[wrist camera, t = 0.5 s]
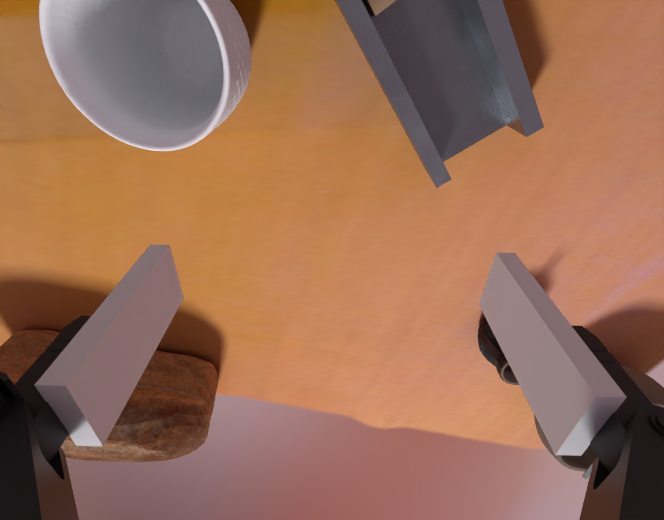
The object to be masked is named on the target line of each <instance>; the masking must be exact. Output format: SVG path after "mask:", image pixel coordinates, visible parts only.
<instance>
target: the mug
mask: <svg viewBox="0 0 664 520" xmlns="http://www.w3.org/2000/svg"><path fill="white" fill-rule="evenodd" d="M39 20H40V30H41V36H42V41H43V45H44V49H45V52H46V55H47V58H48V61H49V63H50V66H51V68H52V70H53V72H54V74H55V77H56V79H57V80H58V82H59V84H60V85H61V87H62V89H63V90H64V92H65V93H66V95H67V96H68V97H69V99H70V100H71V101H72V102H73V104H74V105H75V106H76V107H77V108H78V109H79V110H80V111H81V113H82V114H83V115H85V116H86V117H87V118H88V119H89V120H90V121H91V122H92V123H94V124H95V125H96V126H97V127H99V128H100V129H101V130H103V131H104V132H106V133H107V134H109V135H111V136H112V137H114V138H116V139H118V140H120V141H122V142H124V143H127V144H129V145H132V146H135V147H138V148H142V149H147V150H153V151H172V150H178V149H182V148H186V147H188V146H191V145H193V144H195V143H197V142H198V141H200V140H202V139H203V138H204V137H205V136H207V135H208V134H209V133H210V132H212V131H213V130H214V129H215V128H216V127H218V126H219V125H220V124H221V123H222V122H223V121H224V120H226V118H227V117H228V116H229V115H230V114H231V113H232V112H233V110H234V108H236V106H237V105H238V103H239V101H240V100H241V98H242V97H243V94H244V92H245V90H246V87H247V84H248V82H249V76H250V71H251V62H252V60H251V46H250V43H249V38H248V33H247V31H246V29H245V25H244V23H243V21H242V18H241V17H240V15H239V13H238V11H237V9H236V8H235V7H234V5H233V4H232V2H231V1H230V0H40V7H39Z"/></svg>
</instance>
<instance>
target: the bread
mask: <svg viewBox="0 0 664 520" xmlns="http://www.w3.org/2000/svg"><path fill="white" fill-rule="evenodd" d="M59 333H60V332H57V331H51V330H21V331H16V332H15V333H14V334H13V335H12V336H11V337H10V338H9V339H8V340H7V341H6V342H5V343H4V344H3V345H2V346H0V372H3V373H6V374H7V375H8V377H9V378H10V379H11V381H12V382H13V383H14V384H15V383H16V382H17V381H18V380H19V379H20V378H21V377H22V375H23V374H24V373H25V372H26V371H27V370H28V369H29V367H30V366H31V365H32V364H33V363H34V362H35V361H36V360H37V358H38V357H39V356H40V355H41V354H42V353H43V352H45V349H46V348H47V347H48V346H49V345H50V344H51V343H52V342H54V339H55V338H56V337H57V336H58V335H59ZM217 382H218V377H217V371H216V369H215V367H214V365H213V364H212V363H210V362H208V361H205V360H202V359H200V358H196V357H193V356H190V355H183V354H176V353H168V352H163V351H158V350H155V352H154V354H153V356H152V358H151V359H150V361H149V363H148V365H147V367H146V368H145V370H144V372H143V374H142V376H141V378H140V379H139V381H138V383H137V385H136V387H135V389H134V390H133V392H132V394H131V396H130V398H129V400H128V401H127V403H126V405H125V407H124V409H123V411H122V412H121V414H120V416H119V418H118V420H117V422H116V423H115V425H114V427H113V429H112V431H111V433H110V434H109V436H108V438H107V440H106V442H105V444H104V445H103V446H76V445H75V443H74V442H73V440H72V439H71V437H70V436H69V435H68V436H67V438H66V439H65V441H64V442H63V444H62V445H61V448H62V450H63V452H64V453H65V457H69V458H74V459H81V460H92V461H118V462H121V461H122V462H124V461H125V462H126V461H128V462H151V461H163V460H169V459H174V458H177V457H181V456H184V455H187V454H188V453H190V452H192V451H194V450H196V449H197V448H198V447H200V446H201V445H202V444H203V443H204V442H205V440H206V438H207V435H208V429H209V425H210V419H211V415H212V411H213V407H214V401H215V395H216V390H217Z"/></svg>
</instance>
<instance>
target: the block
mask: <svg viewBox="0 0 664 520" xmlns="http://www.w3.org/2000/svg"><path fill="white" fill-rule="evenodd" d="M395 1H396V0H363V2H364V4H365V6H366V8H367V10H368V12H369V14H370V16H371V17H372V16H377V15H378V14H379V13H380V12H382V11H383V10H384V9H386V8H387V7H388V6H390V5H391V4H392V3H393V2H395Z"/></svg>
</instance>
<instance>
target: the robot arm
mask: <svg viewBox="0 0 664 520" xmlns="http://www.w3.org/2000/svg"><path fill="white" fill-rule="evenodd" d="M183 299H184V297H183V293H182V290H181V286H180V282H179V278H178V275H177V271H176V267H175V264H174V260H173V256H172V252H171V249H170V245H150V246H149V247H148V248H147V249H146V251H145V252H144V253H143V254H142V255H141V257H140V258H139V259H138V260H137V262H136V263H135V264H134V265H133V266H132V268H131V269H130V270H129V271H128V272H127V274H126V275H125V276H124V277H123V278H122V280H121V281H120V282H119V283H118V284H117V286H116V287H115V288H114V289H113V291H112V292H111V293H110V294H109V295H108V297H107V298H106V299H105V300H104V301H103V303H102V304H101V305H100V306H99V307H98V309H97V310H96V311H95V312H94V314H93V315H92V316H80V317H79V318H78V319H76V320H75V321H73V322H72V323H70V324H69V325H67V326H66V327H65V328H64V329H63V330H62V331H61V332H60V333H59V335H58V336H57V337H56V338H55V339H54V342H52V343H51V344H50V345H49V346H48V347H47V348H46V349H45V352H43V353H42V354H41V355H40V356H39V357H38V358H37V360H36V361H35V362H34V363H33V364H32V365H31V366H30V367H29V369H28V370H27V371H26V372H25V373H24V374H23V375H22V377H21V378H20V379H19V380H18V381H17V382H16V383H15V384H14V383H13V382H12V381H11V379H10V378H9V377H8V375H7V374H6V373H3V372H0V520H79V518H78V513H77V509H76V504H75V499H74V495H73V490H72V486H71V481H70V476H69V472H68V467H67V462H66V458H65V453H64V452H63V450H62V448H61V445H62V444H63V442H64V441H65V439H66V438H67V436H68V435H69V436H70V437H71V439H72V440H73V442H74V443H75V445H76V446H103V445H104V444H105V442H106V440H107V438H108V436H109V434H110V433H111V431H112V429H113V427H114V425H115V423H116V422H117V420H118V418H119V416H120V414H121V412H122V411H123V409H124V407H125V405H126V403H127V401H128V400H129V398H130V396H131V394H132V392H133V390H134V389H135V387H136V385H137V383H138V381H139V379H140V378H141V376H142V374H143V372H144V370H145V368H146V367H147V365H148V363H149V361H150V359H151V358H152V356H153V354H154V352H155V350H156V348H157V347H158V345H159V343H160V341H161V339H162V337H163V336H164V334H165V332H166V330H167V328H168V326H169V325H170V323H171V321H172V319H173V317H174V315H175V314H176V312H177V310H178V308H179V306H180V304H181V303H182V301H183ZM479 306H480V308H481V310H482V312H483V314H484V316H485V318H486V320H487V322H488V324H489V326H490V328H491V330H492V332H493V334H494V335H495V337H496V339H497V341H498V343H499V345H500V347H501V349H502V351H503V353H504V355H505V357H506V359H507V361H508V363H509V365H510V367H511V369H512V371H513V373H514V375H515V377H516V379H517V381H518V383H519V385H520V387H521V389H522V391H523V393H524V395H525V397H526V399H527V401H528V403H529V405H530V407H531V409H532V410H533V412H534V414H535V416H536V418H537V420H538V422H539V424H540V426H541V428H542V430H543V432H544V434H545V436H546V438H547V440H548V442H549V444H550V446H551V448H552V450H553V452H554V454H555V455H575V456H581V455H582V454H583V453H584V451H585V450H586V449H587V448H588V446H589V445H590V444H591V446H592V447H593V449H594V451H595V452H596V454H597V456H598V457H597V458H596V459H595V460H594V462H593V463H592V464H591V465H590V466H589V468H588V469H587V470H586V471H585V473H584V474H583V476H582V477H584V478H585V479H587V478H588V477H589V475H590V478H589V482H588V487H587V491H586V495H585V499H584V503H583V507H582V512H581V516H580V520H664V408H663V407H661V406H658V405H653V404H652V403H651V402H650V401H649V399H648V398H647V397H646V396H645V395H644V393H643V392H642V391H641V390H640V389H639V387H638V386H637V385H636V384H635V382H634V381H633V380H632V379H631V378H630V376H629V375H628V374H627V373H626V372H625V370H624V369H623V368H622V367H621V366H620V364H617V363H616V360H615V358H614V357H613V356H612V355H611V353H608V350H607V349H606V347H605V346H604V345H603V344H602V343H601V341H600V340H599V339H598V338H597V337H596V336H595V335H593V334H592V333H591V332H589V331H588V330H587V329H585V328H584V327H582V326H571V325H570V323H569V322H568V321H567V319H566V318H565V317H564V316H563V314H562V313H561V312H560V310H559V309H558V308H557V307H556V305H555V304H554V303H553V301H552V300H551V299H550V298H549V296H548V295H547V294H546V292H545V291H544V290H543V289H542V287H541V286H540V285H539V283H538V282H537V281H536V279H535V278H534V277H533V276H532V274H531V273H530V272H529V270H528V269H527V268H526V267H525V265H524V264H523V263H522V261H521V260H520V259H519V258H518V256H517V255H516V254H515V253H496V255H495V258H494V261H493V264H492V267H491V270H490V273H489V276H488V279H487V282H486V285H485V288H484V291H483V294H482V297H481V300H480V303H479Z"/></svg>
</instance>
